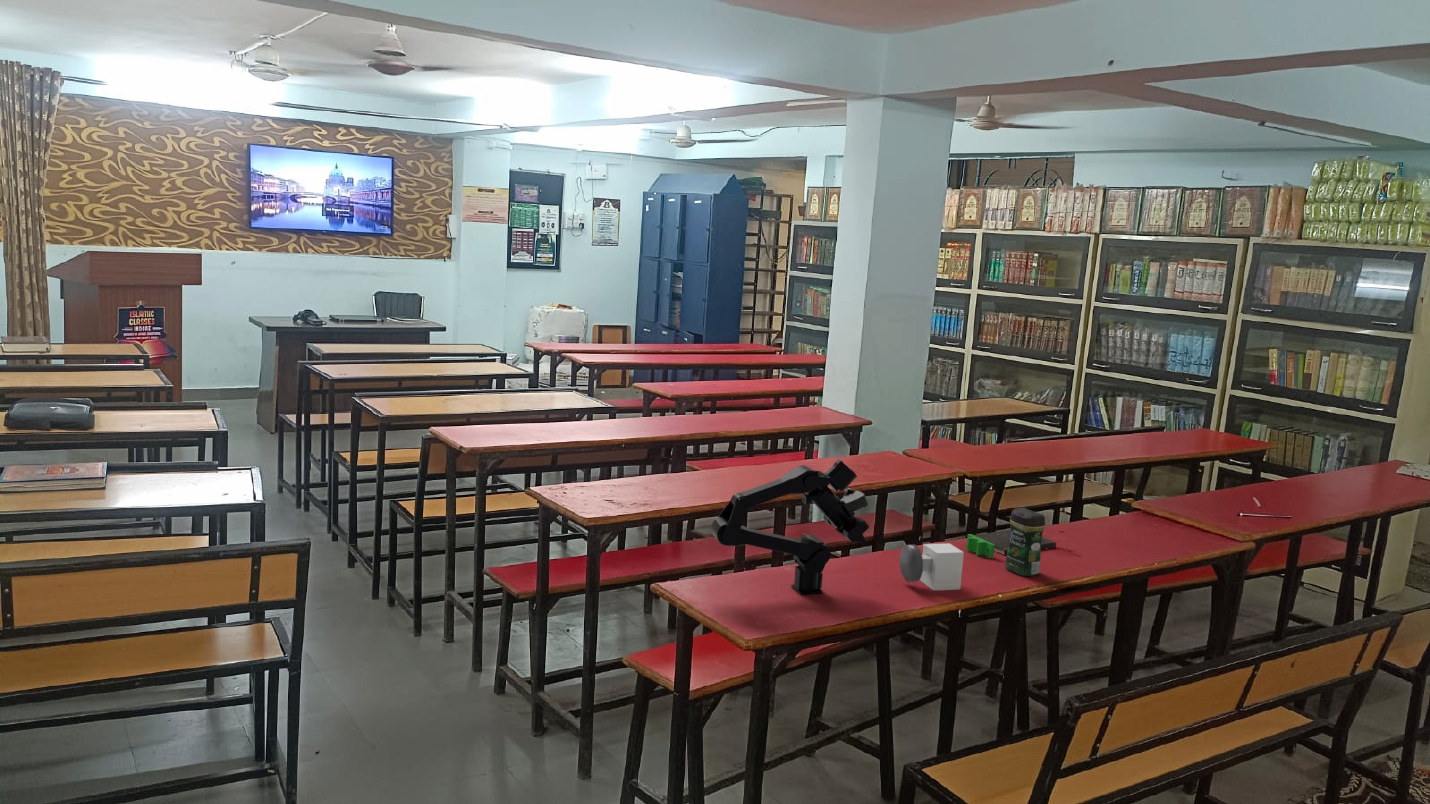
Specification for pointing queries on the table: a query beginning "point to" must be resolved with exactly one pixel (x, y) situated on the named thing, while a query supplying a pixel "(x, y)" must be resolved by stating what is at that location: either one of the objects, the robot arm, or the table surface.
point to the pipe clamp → (980, 546)
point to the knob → (914, 563)
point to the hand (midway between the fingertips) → (864, 542)
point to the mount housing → (943, 567)
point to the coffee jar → (1025, 542)
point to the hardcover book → (1003, 541)
